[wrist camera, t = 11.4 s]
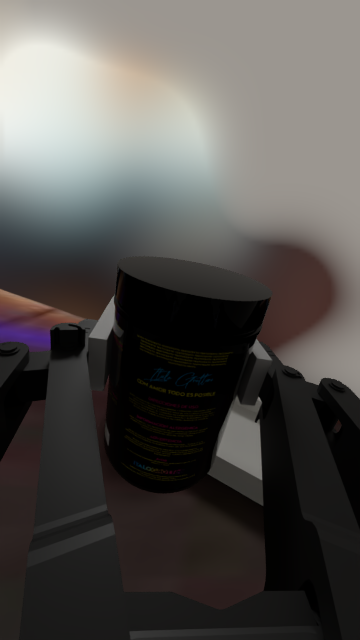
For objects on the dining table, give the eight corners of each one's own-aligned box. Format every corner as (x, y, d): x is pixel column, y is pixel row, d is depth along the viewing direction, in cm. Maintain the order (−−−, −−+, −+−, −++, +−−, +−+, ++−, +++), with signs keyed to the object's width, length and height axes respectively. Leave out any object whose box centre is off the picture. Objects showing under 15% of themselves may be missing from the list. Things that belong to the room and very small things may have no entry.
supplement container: (236, 485, 13) (310, 305, 9) (106, 520, 10) (129, 293, 7) (191, 398, 19) (224, 265, 15) (100, 407, 16) (110, 250, 12)
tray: (292, 523, 23) (304, 503, 21) (174, 454, 27) (179, 435, 26) (295, 432, 33) (303, 416, 32) (211, 394, 38) (215, 378, 37)
